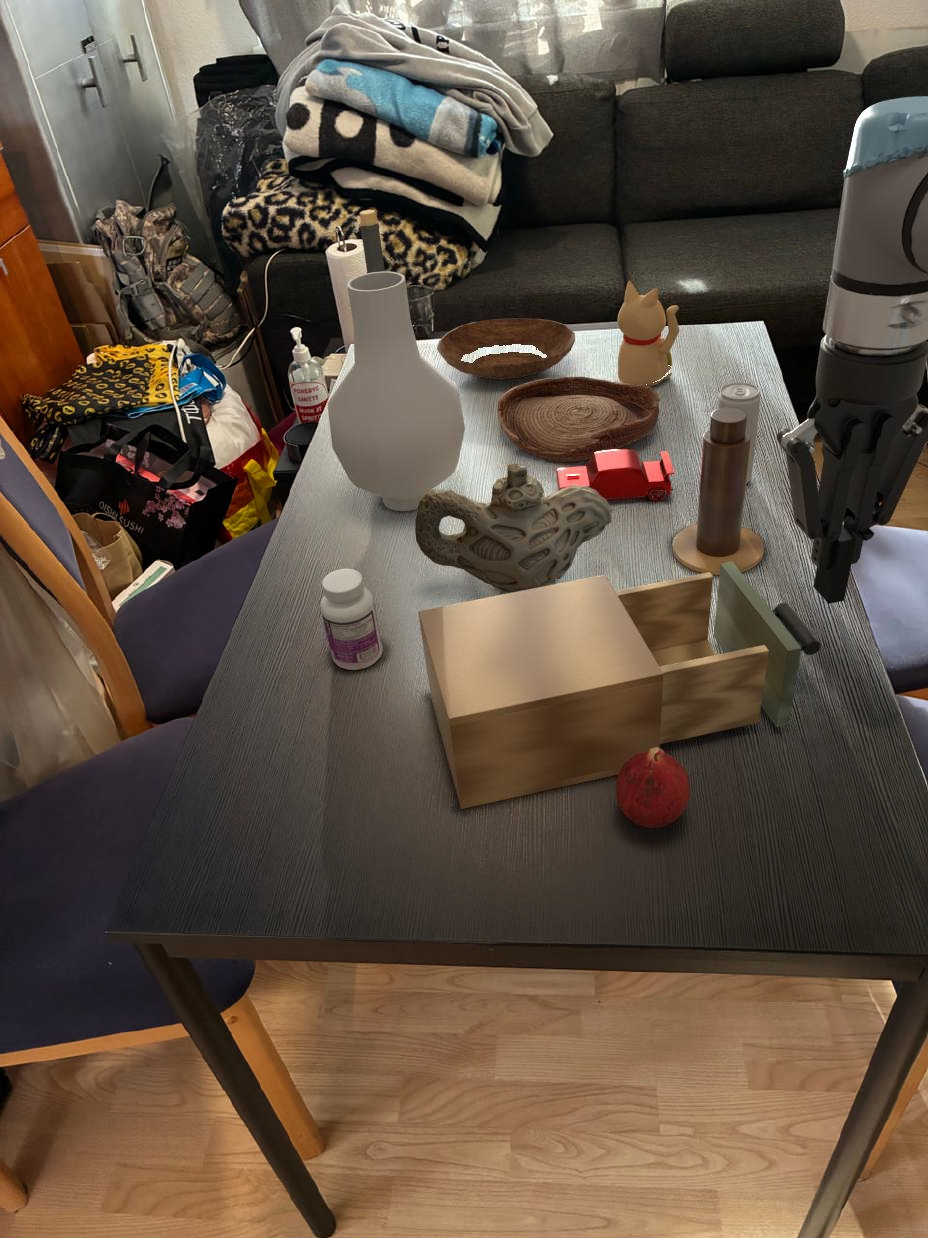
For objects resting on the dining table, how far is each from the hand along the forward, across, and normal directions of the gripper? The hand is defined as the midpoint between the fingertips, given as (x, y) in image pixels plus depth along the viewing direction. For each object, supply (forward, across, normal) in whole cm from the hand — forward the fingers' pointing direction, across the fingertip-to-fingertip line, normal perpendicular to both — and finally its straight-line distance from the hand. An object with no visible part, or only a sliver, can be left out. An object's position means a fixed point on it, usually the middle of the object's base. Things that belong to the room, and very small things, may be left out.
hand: (828, 593), depth 84 cm
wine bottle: (+9, -30, +68) cm, 75 cm away
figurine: (+9, +8, +68) cm, 69 cm away
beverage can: (+9, +8, +36) cm, 38 cm away
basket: (+9, -6, +56) cm, 57 cm away
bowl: (+10, -11, +81) cm, 82 cm away
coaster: (+9, 0, +22) cm, 24 cm away
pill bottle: (+9, -42, +16) cm, 46 cm away
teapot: (+9, -23, +23) cm, 34 cm away
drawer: (+8, -12, 0) cm, 15 cm away
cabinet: (+9, -27, 0) cm, 29 cm away
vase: (+9, -32, +46) cm, 57 cm away
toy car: (+9, -7, +38) cm, 39 cm away
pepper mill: (+9, 0, +22) cm, 23 cm away
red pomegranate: (+9, -21, -13) cm, 26 cm away
